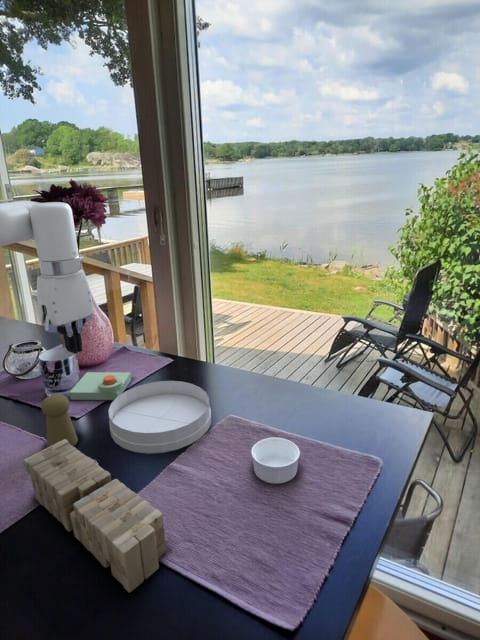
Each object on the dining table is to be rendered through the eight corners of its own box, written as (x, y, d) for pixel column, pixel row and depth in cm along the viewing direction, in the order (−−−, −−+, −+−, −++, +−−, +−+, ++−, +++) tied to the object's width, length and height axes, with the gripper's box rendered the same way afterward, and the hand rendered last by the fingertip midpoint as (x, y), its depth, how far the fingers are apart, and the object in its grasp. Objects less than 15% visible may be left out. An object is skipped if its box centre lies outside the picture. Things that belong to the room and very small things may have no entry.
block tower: (173, 562, 65) (72, 472, 83) (170, 518, 62) (66, 435, 80) (128, 601, 59) (31, 495, 77) (122, 554, 56) (22, 455, 74)
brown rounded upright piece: (84, 440, 93) (76, 394, 89) (60, 456, 88) (51, 408, 84) (65, 432, 96) (56, 387, 92) (41, 447, 91) (31, 401, 87)
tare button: (102, 385, 108) (101, 380, 107) (106, 380, 110) (105, 374, 110) (113, 385, 108) (112, 380, 107) (117, 380, 110) (116, 374, 110)
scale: (70, 401, 108) (67, 387, 107) (88, 380, 119) (85, 366, 117) (119, 402, 107) (117, 387, 106) (132, 380, 118) (131, 366, 117)
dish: (144, 392, 111) (142, 375, 109) (226, 406, 104) (225, 387, 102) (88, 443, 92) (85, 423, 90) (184, 464, 84) (182, 442, 83)
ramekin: (244, 462, 84) (244, 443, 83) (286, 451, 87) (286, 432, 86) (263, 492, 77) (263, 472, 75) (308, 479, 80) (308, 459, 78)
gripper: (80, 257, 95) (92, 336, 102) (14, 272, 84) (32, 360, 90) (103, 261, 91) (114, 342, 98) (36, 277, 80) (54, 368, 86)
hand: (74, 350), depth 94 cm, fingers closed
